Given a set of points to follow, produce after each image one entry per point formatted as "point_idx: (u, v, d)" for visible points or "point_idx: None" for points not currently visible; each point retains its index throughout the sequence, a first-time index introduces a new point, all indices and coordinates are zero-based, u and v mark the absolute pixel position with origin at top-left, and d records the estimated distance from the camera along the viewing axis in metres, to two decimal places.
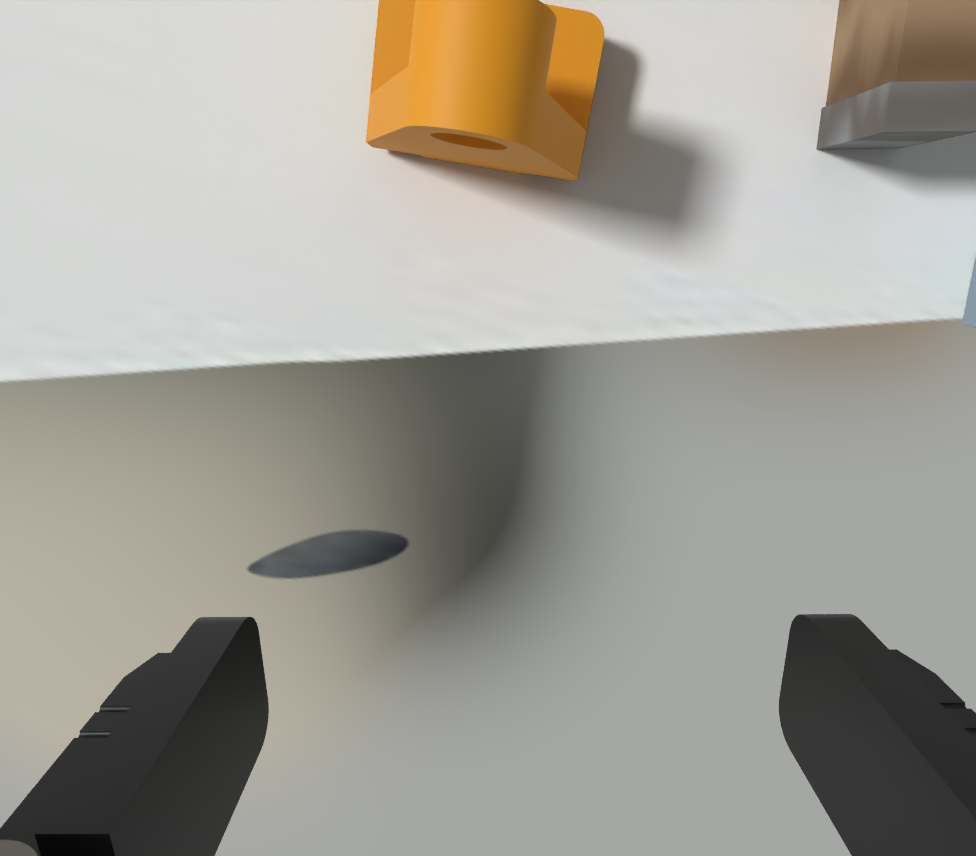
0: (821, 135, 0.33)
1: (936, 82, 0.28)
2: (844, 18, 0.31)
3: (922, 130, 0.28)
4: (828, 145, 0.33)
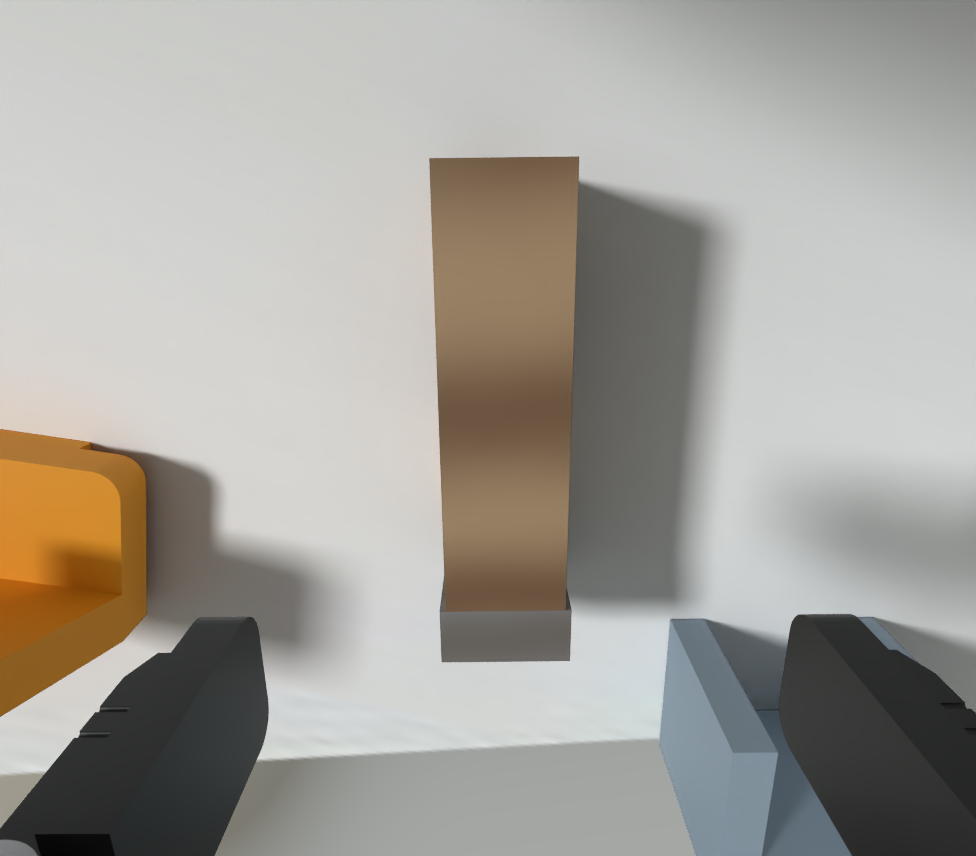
0: None
1: (499, 612, 0.21)
2: None
3: (492, 660, 0.22)
4: None
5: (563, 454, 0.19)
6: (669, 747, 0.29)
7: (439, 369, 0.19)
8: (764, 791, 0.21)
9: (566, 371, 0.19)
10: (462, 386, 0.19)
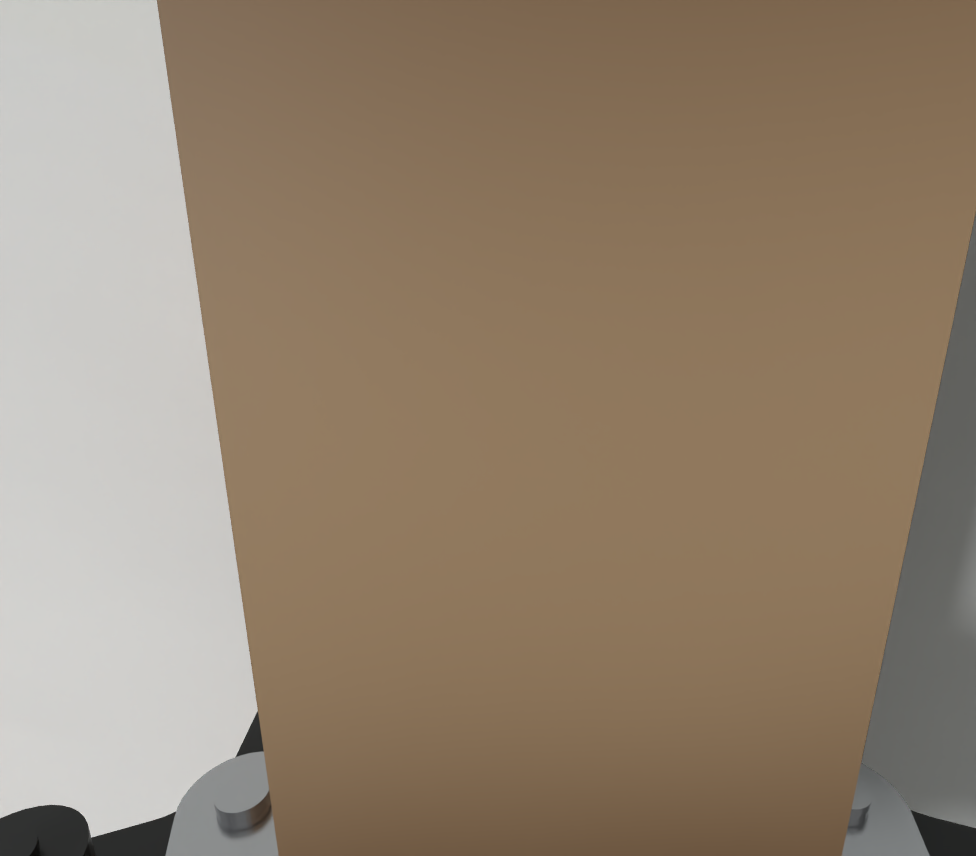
0: None
1: None
2: None
3: None
4: None
5: None
6: None
7: (284, 832, 0.04)
8: None
9: (819, 839, 0.04)
10: None
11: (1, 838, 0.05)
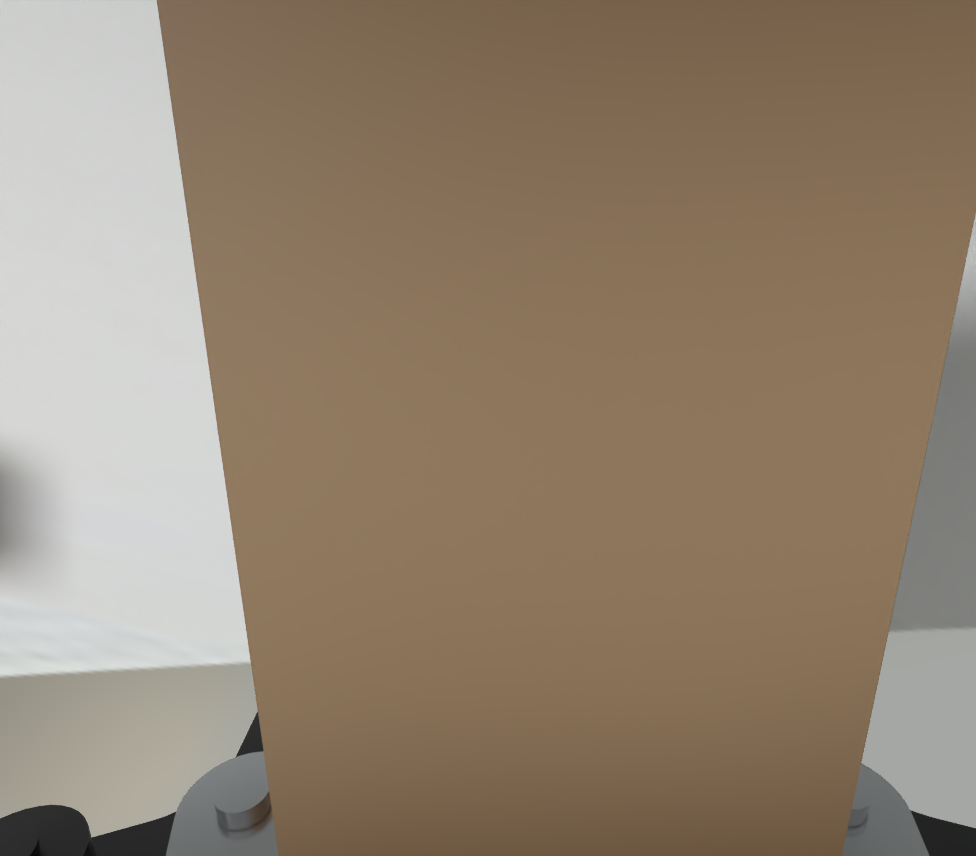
0: None
1: None
2: None
3: None
4: None
5: None
6: None
7: (285, 839, 0.04)
8: None
9: (818, 846, 0.04)
10: None
11: (2, 838, 0.05)
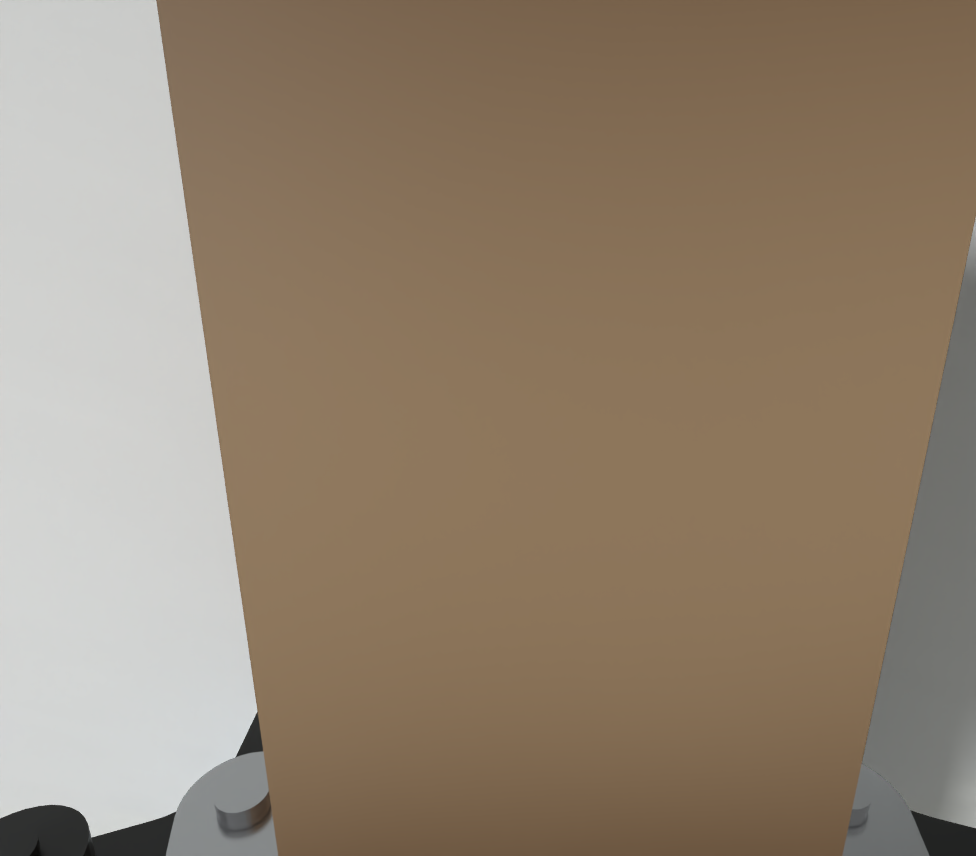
0: None
1: None
2: None
3: None
4: None
5: None
6: None
7: (285, 840, 0.04)
8: None
9: (819, 847, 0.04)
10: None
11: (1, 837, 0.05)
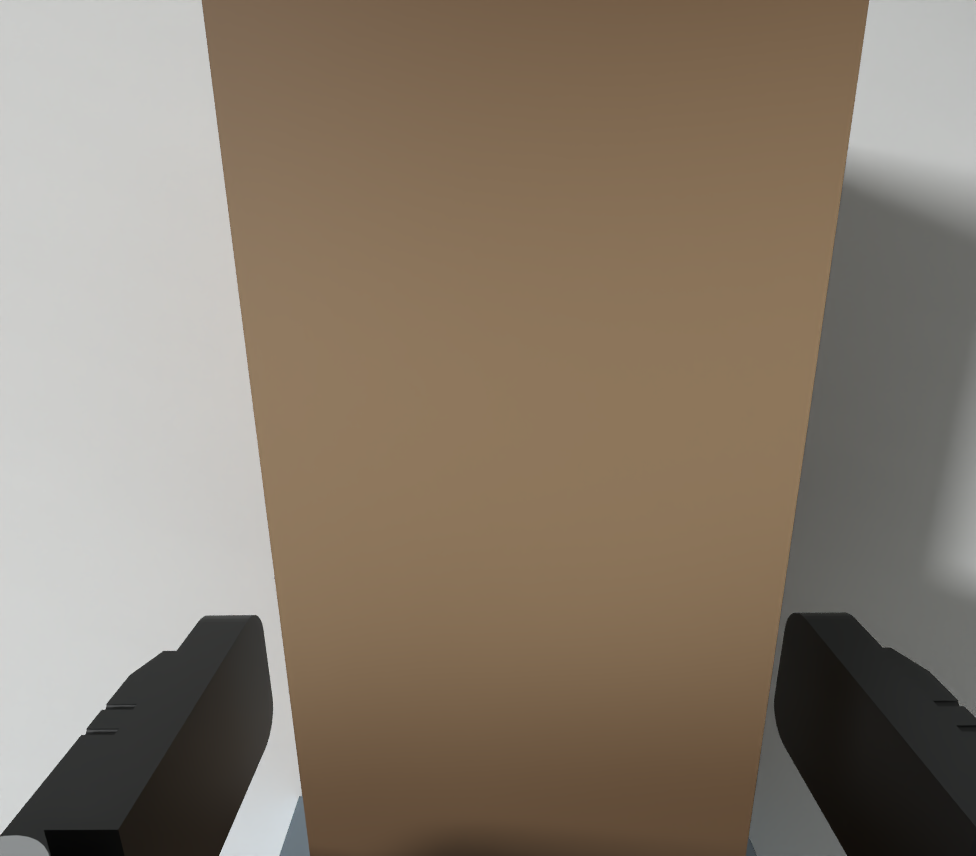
0: None
1: None
2: None
3: None
4: None
5: None
6: None
7: (301, 726, 0.05)
8: None
9: (742, 732, 0.05)
10: (384, 772, 0.06)
11: None
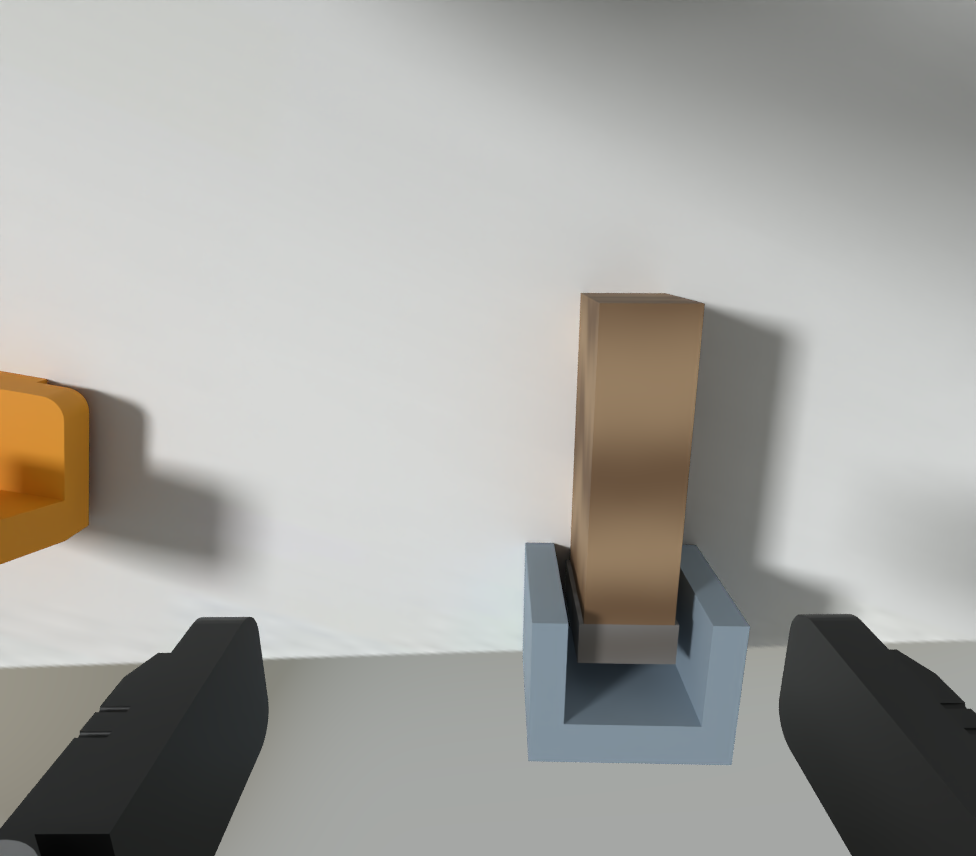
0: (565, 586, 0.34)
1: (624, 625, 0.28)
2: (574, 497, 0.32)
3: (615, 662, 0.29)
4: (567, 605, 0.33)
5: (680, 508, 0.26)
6: None
7: (594, 446, 0.26)
8: (560, 658, 0.27)
9: (686, 449, 0.26)
10: (610, 458, 0.26)
11: None
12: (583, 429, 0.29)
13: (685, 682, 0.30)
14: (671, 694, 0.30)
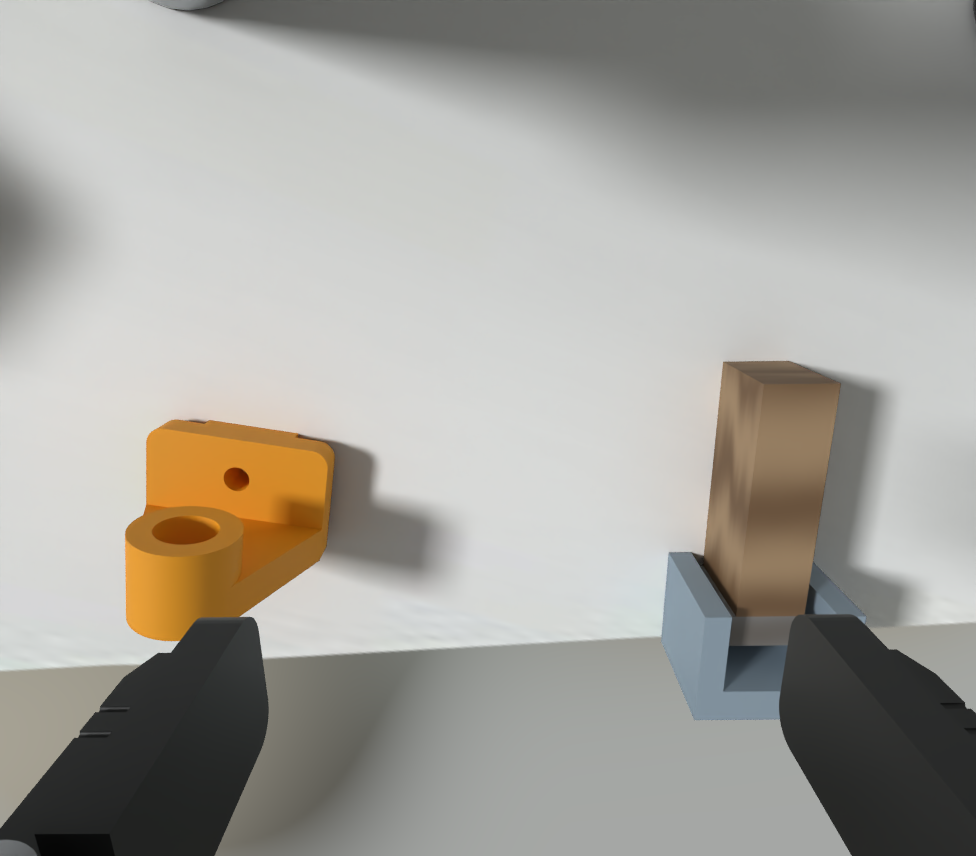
0: None
1: (766, 617, 0.37)
2: (711, 517, 0.41)
3: (758, 645, 0.38)
4: None
5: (814, 530, 0.35)
6: (667, 638, 0.43)
7: (753, 486, 0.35)
8: (724, 642, 0.36)
9: (821, 487, 0.35)
10: (764, 494, 0.35)
11: None
12: (731, 469, 0.38)
13: None
14: None
